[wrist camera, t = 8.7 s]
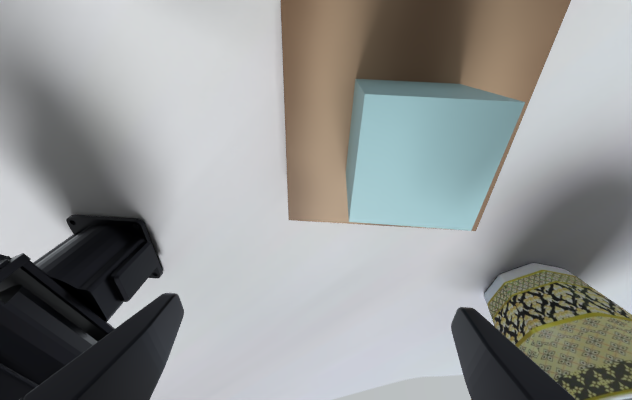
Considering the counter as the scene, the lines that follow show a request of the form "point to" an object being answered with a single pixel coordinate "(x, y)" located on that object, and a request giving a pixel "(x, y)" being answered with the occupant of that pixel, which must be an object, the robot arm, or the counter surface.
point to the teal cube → (424, 152)
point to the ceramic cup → (565, 330)
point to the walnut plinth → (394, 73)
